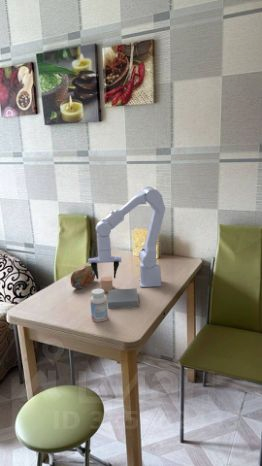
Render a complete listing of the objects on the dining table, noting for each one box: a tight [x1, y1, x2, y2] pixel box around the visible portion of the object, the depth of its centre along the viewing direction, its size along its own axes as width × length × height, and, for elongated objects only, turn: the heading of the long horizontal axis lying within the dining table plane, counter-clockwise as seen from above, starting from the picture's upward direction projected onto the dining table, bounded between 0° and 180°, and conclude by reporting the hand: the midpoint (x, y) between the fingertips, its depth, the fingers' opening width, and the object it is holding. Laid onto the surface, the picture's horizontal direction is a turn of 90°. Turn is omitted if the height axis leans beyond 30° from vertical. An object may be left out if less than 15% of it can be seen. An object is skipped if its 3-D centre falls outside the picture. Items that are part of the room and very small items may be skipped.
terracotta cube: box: [100, 276, 114, 292], centre depth 159 cm, size 5×5×5 cm
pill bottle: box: [89, 288, 109, 323], centre depth 132 cm, size 6×6×11 cm
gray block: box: [107, 287, 139, 309], centre depth 147 cm, size 12×12×3 cm
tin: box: [70, 265, 96, 290], centre depth 164 cm, size 15×3×8 cm, turn 147°
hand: (106, 277), depth 158 cm, fingers open, 7 cm apart
